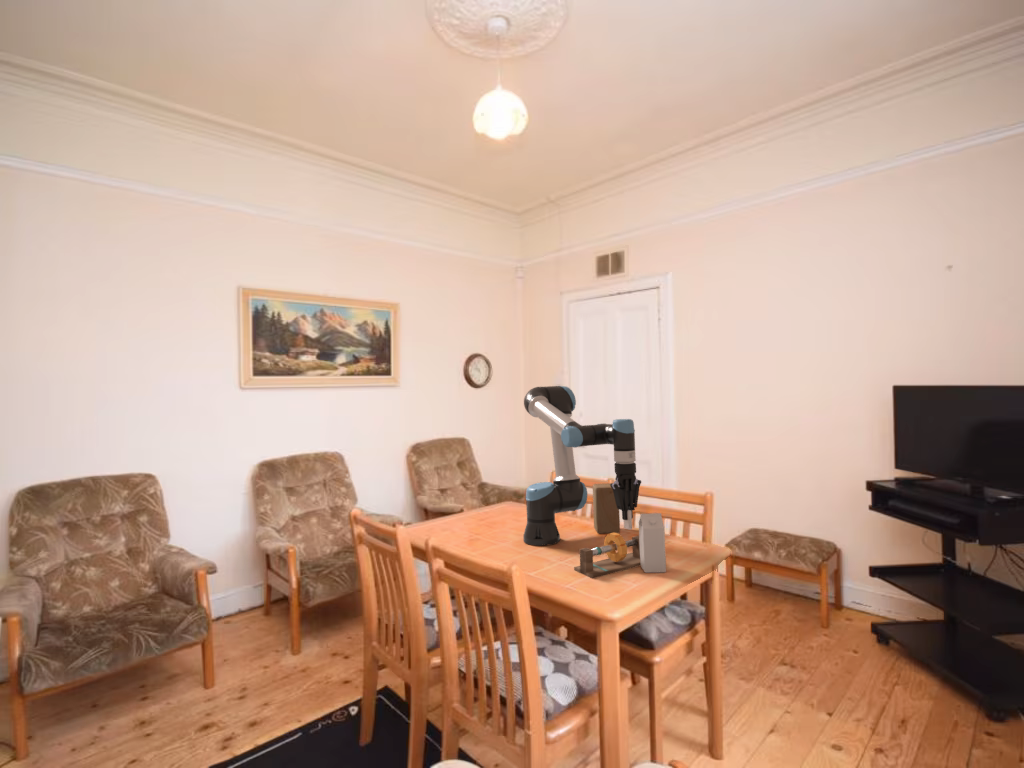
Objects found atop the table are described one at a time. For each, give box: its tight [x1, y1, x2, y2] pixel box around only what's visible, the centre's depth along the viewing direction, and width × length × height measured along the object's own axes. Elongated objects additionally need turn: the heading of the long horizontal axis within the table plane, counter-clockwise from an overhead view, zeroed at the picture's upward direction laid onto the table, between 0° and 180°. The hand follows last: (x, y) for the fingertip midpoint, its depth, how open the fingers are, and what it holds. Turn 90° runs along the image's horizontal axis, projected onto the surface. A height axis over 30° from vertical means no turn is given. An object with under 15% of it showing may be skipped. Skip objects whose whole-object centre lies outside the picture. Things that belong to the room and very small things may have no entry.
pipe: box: [590, 539, 638, 557], centre depth 180 cm, size 3×24×3 cm, turn 121°
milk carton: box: [638, 512, 667, 574], centre depth 175 cm, size 7×7×19 cm
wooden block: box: [592, 482, 621, 535], centre depth 225 cm, size 10×10×20 cm
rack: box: [573, 535, 641, 579], centre depth 180 cm, size 10×27×8 cm, turn 120°
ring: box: [603, 532, 628, 562], centre depth 180 cm, size 9×2×9 cm, turn 30°
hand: (628, 528), depth 183 cm, fingers closed
